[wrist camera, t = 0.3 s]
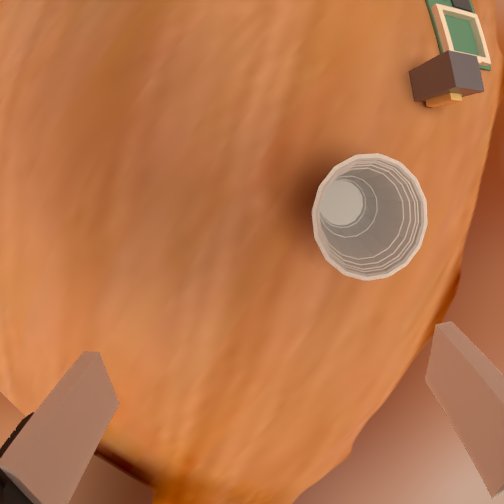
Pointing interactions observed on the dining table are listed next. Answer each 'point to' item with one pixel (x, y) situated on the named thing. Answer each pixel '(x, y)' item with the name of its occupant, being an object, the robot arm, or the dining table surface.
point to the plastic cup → (369, 216)
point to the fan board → (459, 29)
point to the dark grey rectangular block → (446, 79)
